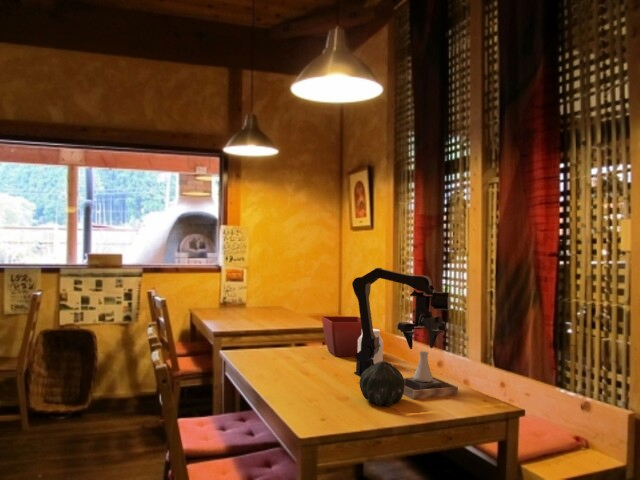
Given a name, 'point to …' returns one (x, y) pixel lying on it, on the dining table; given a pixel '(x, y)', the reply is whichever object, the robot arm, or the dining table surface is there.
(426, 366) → the flask
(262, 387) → the dining table surface
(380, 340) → the jar
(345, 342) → the plant pot
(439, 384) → the block
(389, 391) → the squash
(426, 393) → the brown tray
